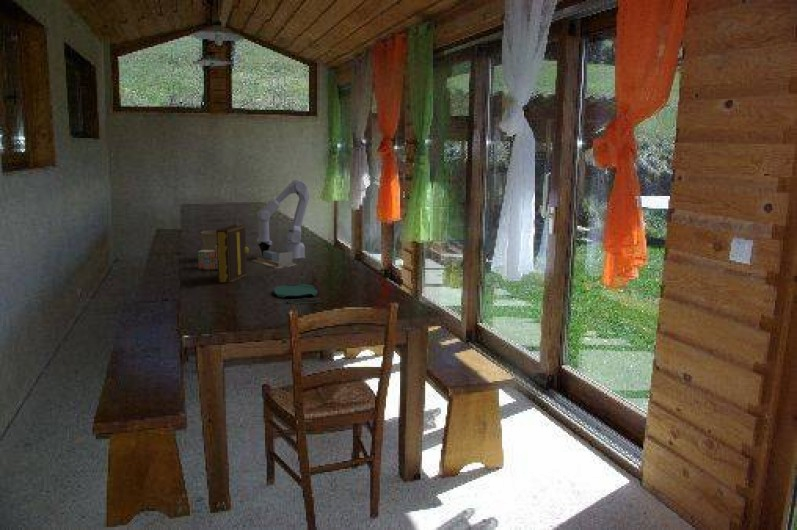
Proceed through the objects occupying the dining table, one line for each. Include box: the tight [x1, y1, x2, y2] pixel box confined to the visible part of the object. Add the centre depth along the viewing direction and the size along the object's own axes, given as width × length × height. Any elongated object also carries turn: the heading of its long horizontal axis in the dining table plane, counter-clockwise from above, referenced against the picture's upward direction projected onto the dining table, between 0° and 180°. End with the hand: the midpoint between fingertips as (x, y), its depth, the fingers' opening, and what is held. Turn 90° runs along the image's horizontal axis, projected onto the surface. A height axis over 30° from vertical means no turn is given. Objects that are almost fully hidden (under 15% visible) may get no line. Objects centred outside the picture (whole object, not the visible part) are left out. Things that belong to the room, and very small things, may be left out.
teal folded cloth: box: [272, 283, 323, 306], centre depth 275 cm, size 20×30×2 cm, turn 18°
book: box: [216, 224, 250, 284], centre depth 307 cm, size 22×8×25 cm, turn 168°
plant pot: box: [200, 229, 217, 250], centre depth 353 cm, size 15×15×16 cm
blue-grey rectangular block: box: [262, 250, 279, 262], centre depth 349 cm, size 4×10×5 cm, turn 39°
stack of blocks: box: [197, 246, 218, 271], centre depth 331 cm, size 21×6×12 cm, turn 85°
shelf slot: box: [251, 251, 299, 269], centre depth 346 cm, size 14×26×8 cm, turn 40°
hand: (264, 256), depth 354 cm, fingers closed
